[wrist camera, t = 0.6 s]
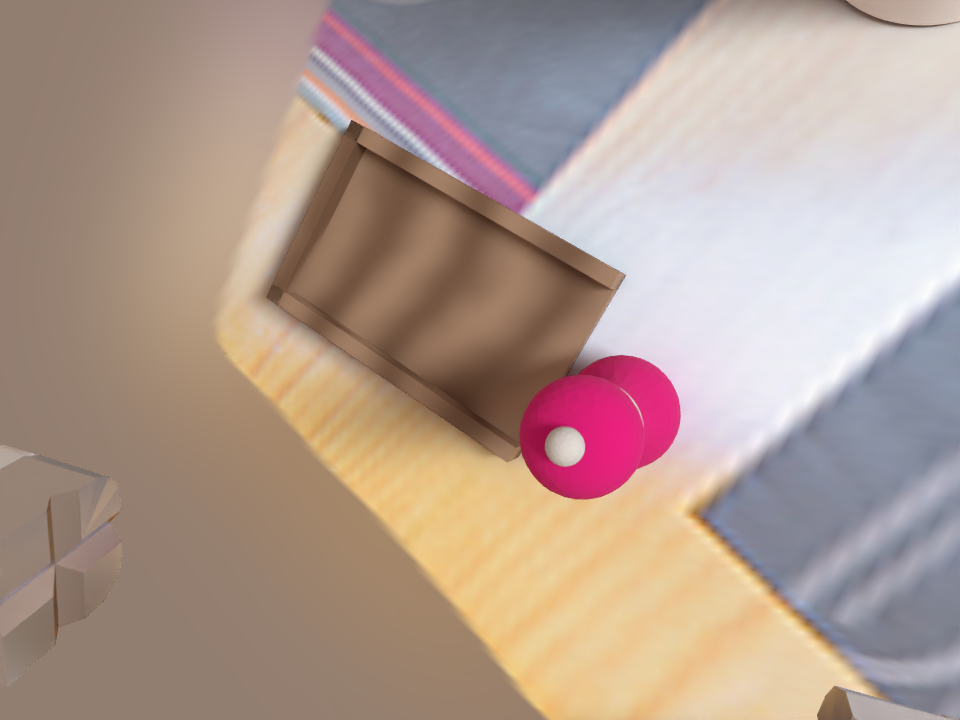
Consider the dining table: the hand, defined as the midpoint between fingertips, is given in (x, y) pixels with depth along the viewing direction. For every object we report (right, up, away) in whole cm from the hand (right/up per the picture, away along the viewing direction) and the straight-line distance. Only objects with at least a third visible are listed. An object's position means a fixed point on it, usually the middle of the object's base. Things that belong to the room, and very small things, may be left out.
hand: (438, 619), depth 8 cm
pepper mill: (+11, 0, +43) cm, 44 cm away
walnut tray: (-2, +8, +47) cm, 48 cm away
